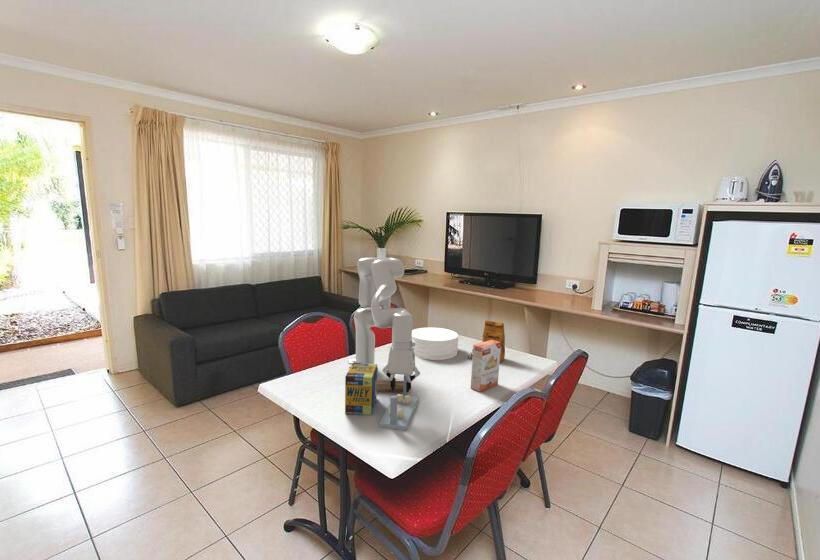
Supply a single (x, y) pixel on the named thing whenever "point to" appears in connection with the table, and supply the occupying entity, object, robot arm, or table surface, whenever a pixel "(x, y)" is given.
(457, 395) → the table surface
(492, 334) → the coffee package
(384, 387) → the board
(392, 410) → the stand
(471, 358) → the house of cards
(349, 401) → the protein box
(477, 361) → the cracker box
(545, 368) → the table surface
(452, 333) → the plate stack
